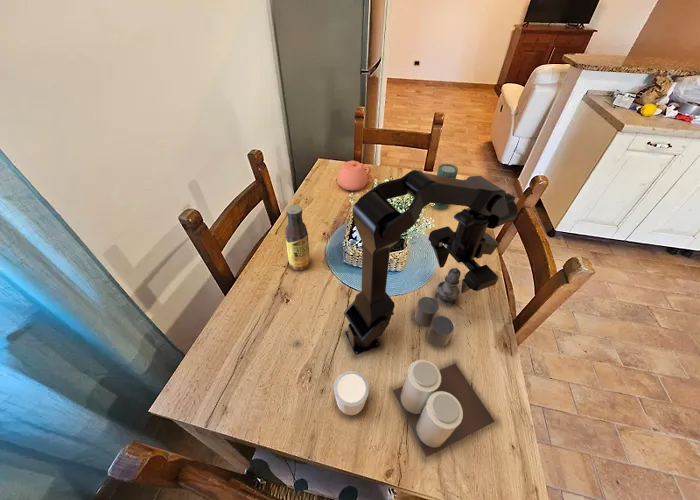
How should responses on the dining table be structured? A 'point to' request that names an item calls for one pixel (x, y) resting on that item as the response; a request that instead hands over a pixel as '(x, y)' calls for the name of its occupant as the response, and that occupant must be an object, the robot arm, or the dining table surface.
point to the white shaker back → (419, 385)
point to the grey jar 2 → (440, 331)
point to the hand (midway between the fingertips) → (452, 279)
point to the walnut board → (468, 399)
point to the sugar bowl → (353, 175)
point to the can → (446, 171)
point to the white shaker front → (439, 419)
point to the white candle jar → (351, 392)
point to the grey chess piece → (449, 287)
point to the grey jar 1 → (426, 311)
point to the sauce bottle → (297, 239)
